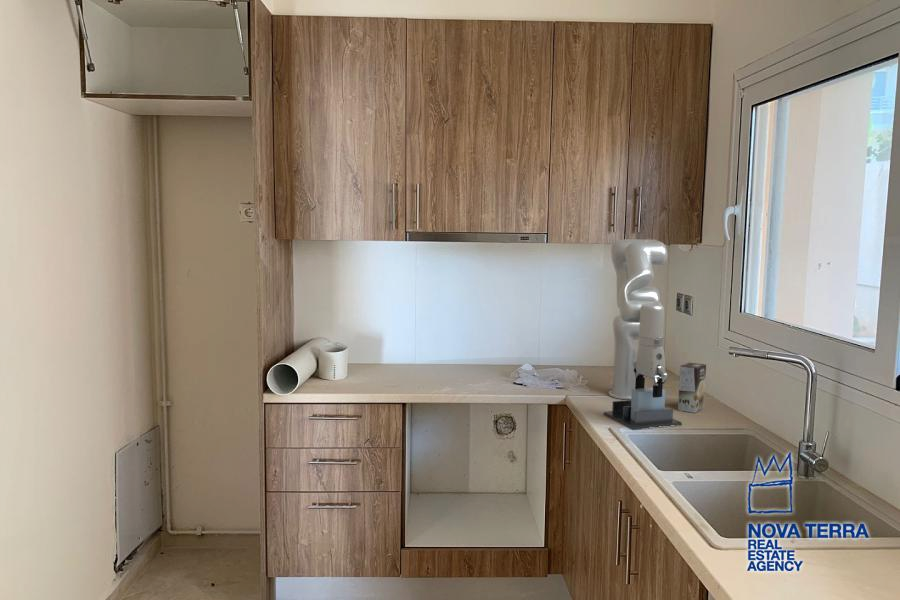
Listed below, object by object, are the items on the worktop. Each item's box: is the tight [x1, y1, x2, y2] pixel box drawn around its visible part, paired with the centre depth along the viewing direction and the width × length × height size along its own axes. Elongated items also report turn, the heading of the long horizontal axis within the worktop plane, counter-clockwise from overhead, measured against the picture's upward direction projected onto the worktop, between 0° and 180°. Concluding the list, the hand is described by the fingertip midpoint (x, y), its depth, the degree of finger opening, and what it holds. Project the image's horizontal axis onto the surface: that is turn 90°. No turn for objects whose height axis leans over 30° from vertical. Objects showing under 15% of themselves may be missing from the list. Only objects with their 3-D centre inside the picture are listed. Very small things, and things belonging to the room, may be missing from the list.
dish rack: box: [603, 399, 683, 431], centre depth 211 cm, size 18×18×5 cm
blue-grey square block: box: [630, 387, 666, 420], centre depth 208 cm, size 10×4×10 cm, turn 107°
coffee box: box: [677, 362, 707, 414], centre depth 225 cm, size 9×6×16 cm
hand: (648, 393), depth 208 cm, fingers open, 9 cm apart
